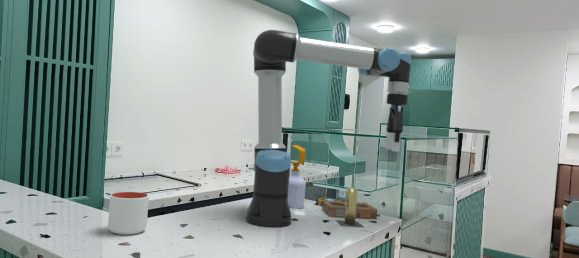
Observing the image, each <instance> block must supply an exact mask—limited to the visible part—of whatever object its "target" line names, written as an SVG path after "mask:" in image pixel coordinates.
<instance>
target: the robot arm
mask: <svg viewBox="0 0 579 258" xmlns="http://www.w3.org/2000/svg"><path fill="white" fill-rule="evenodd" d="M252 53H253V54H252V55H253V73H254V74H255V76H257V78H258V79H257V80H258V81H257V83H258V86H257V87H258V89H257V91H258V93H257V94H258V100H257V101H258V103H257V104H258V108H257V109H258V110H257V111H258V115H257V116H258V117H257V118H258V119H257V121H258V127H257V128H258V142H257V144H256V145H255V146H254V160H253V161H254V163H253V171H254V178H253V179H254V180H253V194H252V198H251V201H250V204H249V207H248V208H247V211H246V216H245V221H246V222H248V223H250V224H252V225H256V226H261V227H271V228H273V227H275V228H276V227H279V228H280V227H286V226H289V225H291V223H292V212H291V208H289V203H288V189H289V176H290V175H291V166H292V163H291V162H292V161H291V160H292V159H291V157H292V156H291V155H290V154H289V153H288V152H287V147H286V145H285V144H284V143H283V118H282V117H283V113H282V112H283V111H282V110H283V106H282V105H283V104H282V103H283V102H282V101H283V100H282V99H283V98H282V97H283V96H282V95H283V86H282V83H283V81H282V80H283V76H284V75H285V74H286V73H287V69H286V68H287V65H286V64H287V62H288V63H296V61H301V62H309V63H317V64H324V65H331V66H333V65H334V66H338V67H339V66H341V67H348V68H356V69H357V71H358V73H359V74H360V75H363V76H372V77H385V78H388V81H387V82H388V83H387V94H386V104H388V105H392V106H390V107H389V114H388V120H387V125H386V129H385V130H386V139H385V142H386V143H385V150H391V151H390V152H398V153H399V152H400V151H401V150H400V149H401V148H400V147H401V139H402V132H403V131H404V128H403V127H404V125H403V124H404V122H403V119H404V117H403V113H404V106H407V105H408V95H407V94H409V90H410V89H411V86H410V85H409V84H410V75H411V67H412V55H411V54H410V53H409V52H405V51H398V50H397V49H396V48H394V47H385V48H377V47H370V46H363V45H355V44H348V43H342V42H336V41H330V40H321V39H315V38H309V37H302V36H300V35H299V34H298V33H297V32H296V33H295V32H289V31H283V30H276V29H267V30H265V31H261V32H260V34H258V35H257V36H256V38H255V41H254V43H253V51H252Z"/></svg>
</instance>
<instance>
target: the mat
mask: <svg viewBox="0 0 579 258" xmlns="http://www.w3.org/2000/svg"><path fill="white" fill-rule="evenodd" d="M335 222H337V224H338V225H339V226H340V227H348V228H349V227H352V228H365V227H364V225H362V224H361V223H360V222H359V221H358V220H355V225H348V224H345V223H344V220H339V219H335Z"/></svg>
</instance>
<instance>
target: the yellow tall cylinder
mask: <svg viewBox="0 0 579 258" xmlns="http://www.w3.org/2000/svg"><path fill="white" fill-rule="evenodd" d="M358 192H359V189H358V188H354V187H347V188H346V196H345V197H346V198H345V201H346V208H345V218H344V220H343V221H344V223H345V224H348V225H355V221H356V218H355V215H356V203H357V200H358Z"/></svg>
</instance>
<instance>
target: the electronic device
mask: <svg viewBox="0 0 579 258" xmlns="http://www.w3.org/2000/svg"><path fill="white" fill-rule="evenodd" d="M323 201H341V202H346V200H341V199H336V198H331V197H326V196H322V197H318V198H316V202H315V205H316V206H318V205H320V207H322V205H323Z"/></svg>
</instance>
